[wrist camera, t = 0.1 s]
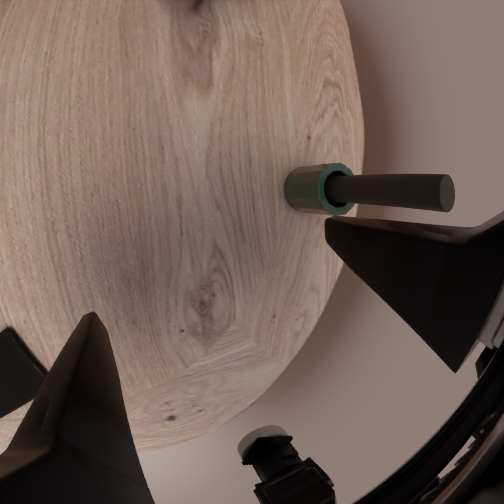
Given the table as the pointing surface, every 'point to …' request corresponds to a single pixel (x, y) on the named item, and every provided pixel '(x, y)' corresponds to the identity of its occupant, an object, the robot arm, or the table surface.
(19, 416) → the table surface
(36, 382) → the smartphone
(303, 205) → the pen pot
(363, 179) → the stylus
